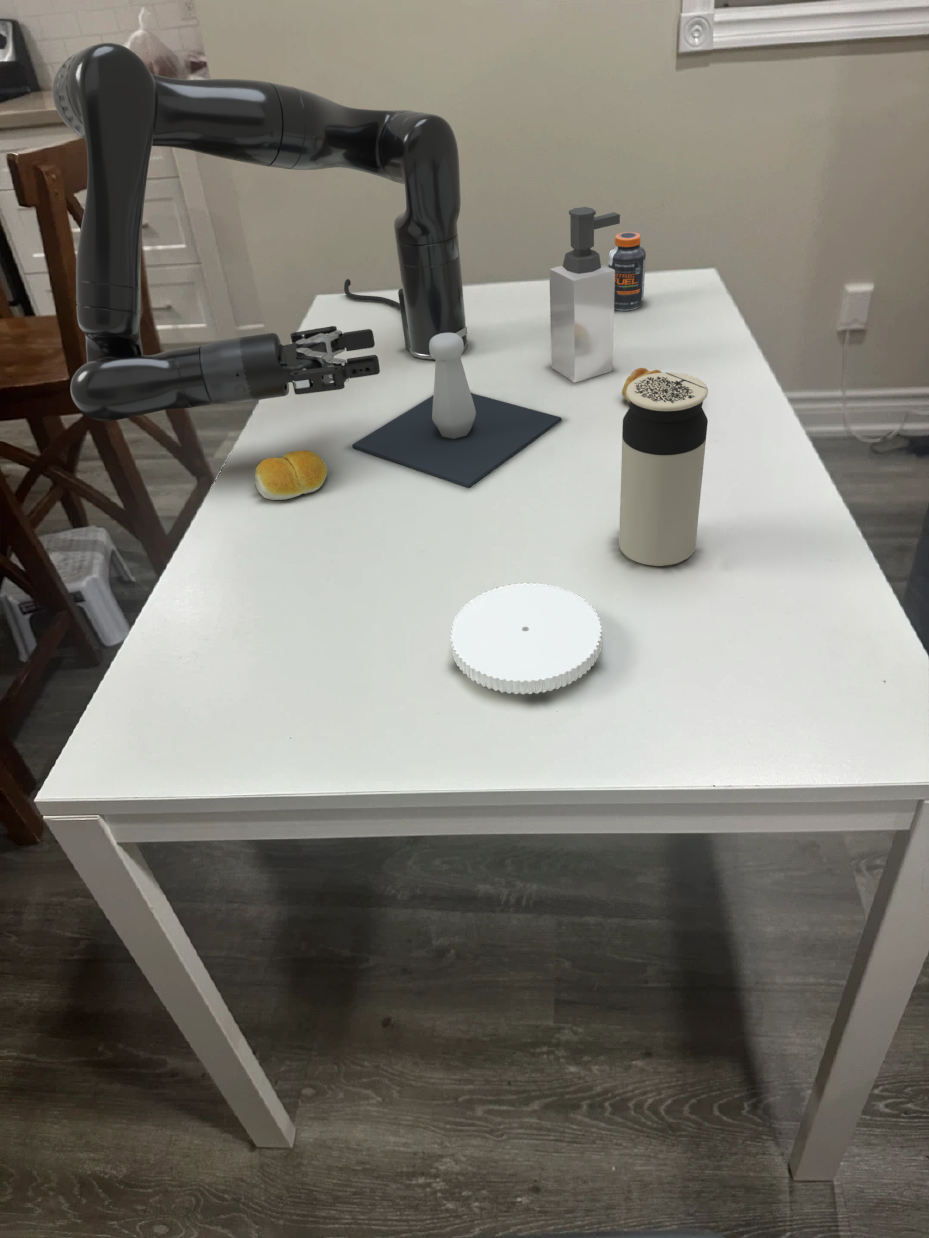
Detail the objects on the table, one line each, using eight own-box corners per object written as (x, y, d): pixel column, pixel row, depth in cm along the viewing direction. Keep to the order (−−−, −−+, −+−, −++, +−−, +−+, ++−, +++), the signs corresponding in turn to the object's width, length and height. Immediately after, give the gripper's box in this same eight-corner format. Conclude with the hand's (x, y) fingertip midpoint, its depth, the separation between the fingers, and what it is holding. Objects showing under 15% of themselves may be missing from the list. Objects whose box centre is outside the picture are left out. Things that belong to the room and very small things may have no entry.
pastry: (702, 402, 117) (705, 375, 114) (673, 422, 113) (675, 395, 111) (645, 385, 122) (646, 359, 120) (615, 403, 119) (616, 377, 116)
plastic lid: (448, 704, 77) (445, 684, 75) (456, 605, 87) (454, 585, 86) (607, 700, 75) (607, 679, 74) (596, 600, 86) (596, 580, 85)
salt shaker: (482, 422, 116) (475, 328, 108) (469, 443, 112) (460, 346, 104) (442, 419, 118) (431, 326, 110) (427, 439, 114) (415, 344, 106)
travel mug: (649, 577, 88) (658, 416, 77) (604, 541, 94) (606, 385, 82) (711, 551, 91) (729, 391, 79) (663, 517, 96) (674, 363, 85)
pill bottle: (606, 312, 144) (608, 241, 137) (608, 299, 149) (609, 230, 142) (643, 311, 143) (646, 239, 136) (643, 298, 148) (646, 228, 141)
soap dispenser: (625, 367, 127) (631, 207, 113) (574, 382, 125) (573, 221, 111) (601, 352, 132) (603, 197, 118) (551, 367, 129) (547, 211, 115)
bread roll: (337, 486, 108) (331, 458, 105) (269, 509, 105) (261, 480, 103) (315, 460, 114) (309, 432, 111) (250, 480, 111) (242, 453, 108)
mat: (352, 447, 115) (351, 444, 115) (447, 389, 127) (447, 386, 126) (468, 488, 105) (468, 484, 105) (561, 420, 116) (561, 417, 116)
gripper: (234, 363, 98) (376, 342, 99) (239, 319, 109) (367, 301, 110) (250, 423, 103) (385, 403, 104) (254, 375, 114) (376, 357, 115)
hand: (376, 350), depth 107 cm, fingers open, 8 cm apart
